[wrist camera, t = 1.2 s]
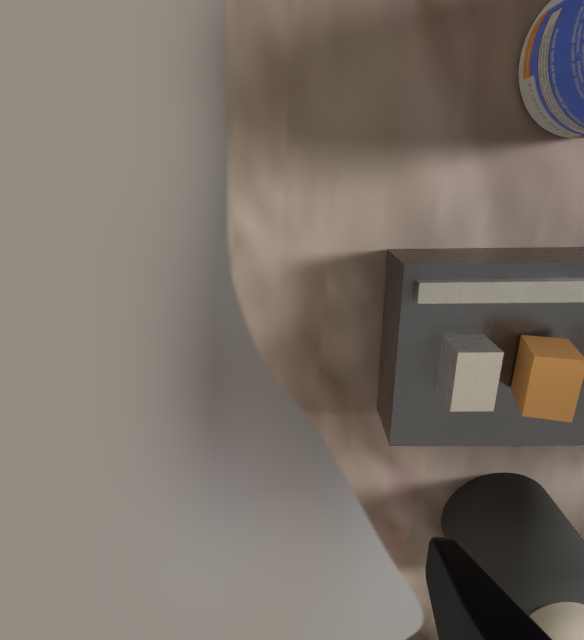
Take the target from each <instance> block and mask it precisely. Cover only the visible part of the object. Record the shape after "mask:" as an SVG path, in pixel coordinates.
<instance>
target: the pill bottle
mask: <svg viewBox="0 0 584 640" xmlns="http://www.w3.org/2000/svg"><path fill="white" fill-rule="evenodd" d="M519 86H520V91H521V95H522V99H523V102H524V104H525V107H526V109H527V111H528V112H529V114H530V115H531V117H532V118H533V119H534V120H535V121H536V122H537V123H538V124H539V125H540V126H541V127H542V128H544V129H545V130H547V131H549V132H551V133H553V134H555V135H558V136H562V137H567V138H584V0H551V1H550V2H549V3H548V4H547V5H546V6H545V7H544V9H543V10H542V11H541V12H540V14H539V15H538V17H537V18H536V20H535V21H534V23H533V25H532V26H531V28H530V30H529V32H528V34H527V37H526V39H525V42H524V45H523V48H522V52H521V56H520V63H519Z"/></svg>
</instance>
